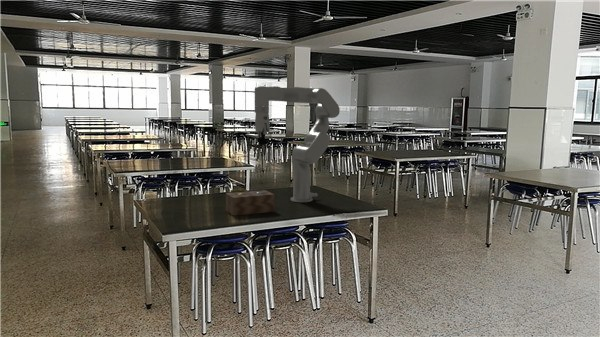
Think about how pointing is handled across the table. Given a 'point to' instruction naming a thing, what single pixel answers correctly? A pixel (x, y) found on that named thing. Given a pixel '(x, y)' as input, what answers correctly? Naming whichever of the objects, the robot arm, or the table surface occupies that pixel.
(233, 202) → the walnut block
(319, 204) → the table surface
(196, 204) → the table surface
